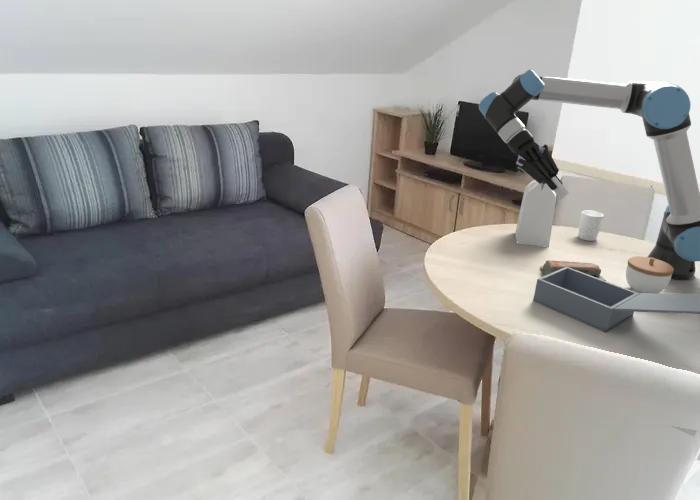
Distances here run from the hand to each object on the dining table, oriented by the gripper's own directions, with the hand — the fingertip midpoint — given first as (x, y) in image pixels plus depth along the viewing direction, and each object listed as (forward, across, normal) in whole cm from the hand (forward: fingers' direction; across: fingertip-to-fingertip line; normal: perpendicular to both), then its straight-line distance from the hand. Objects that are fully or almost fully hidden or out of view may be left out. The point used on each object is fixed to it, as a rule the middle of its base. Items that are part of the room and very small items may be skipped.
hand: (564, 196), depth 171 cm
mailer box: (+29, +17, -5) cm, 34 cm away
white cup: (+14, -36, -42) cm, 57 cm away
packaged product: (+21, 0, -20) cm, 29 cm away
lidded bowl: (+37, -10, -10) cm, 40 cm away
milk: (+3, -15, -42) cm, 45 cm away
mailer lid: (+39, +11, +17) cm, 43 cm away
